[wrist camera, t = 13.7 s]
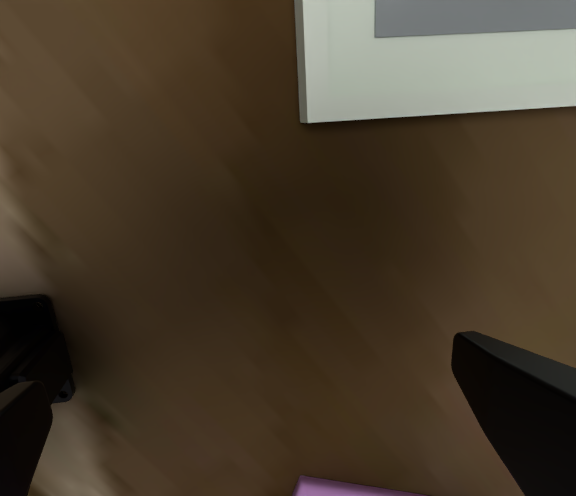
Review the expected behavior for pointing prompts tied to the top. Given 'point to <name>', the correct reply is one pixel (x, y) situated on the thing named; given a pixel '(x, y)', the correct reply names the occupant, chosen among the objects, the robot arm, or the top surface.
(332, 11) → the sage tray
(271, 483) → the top surface
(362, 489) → the earring display
